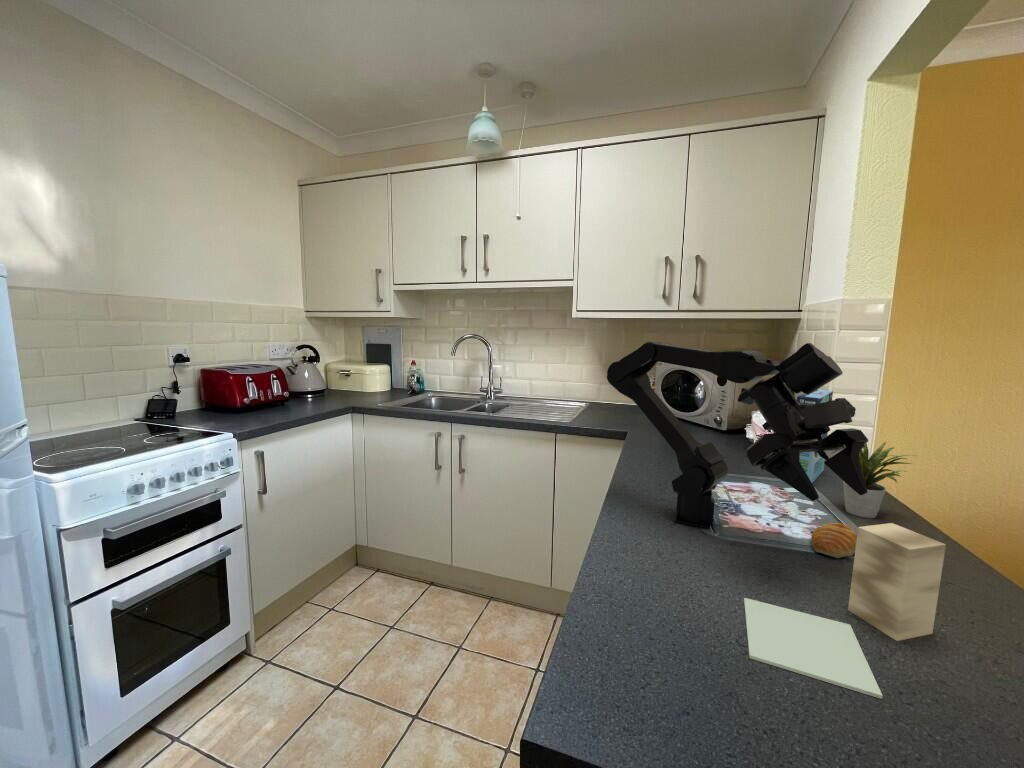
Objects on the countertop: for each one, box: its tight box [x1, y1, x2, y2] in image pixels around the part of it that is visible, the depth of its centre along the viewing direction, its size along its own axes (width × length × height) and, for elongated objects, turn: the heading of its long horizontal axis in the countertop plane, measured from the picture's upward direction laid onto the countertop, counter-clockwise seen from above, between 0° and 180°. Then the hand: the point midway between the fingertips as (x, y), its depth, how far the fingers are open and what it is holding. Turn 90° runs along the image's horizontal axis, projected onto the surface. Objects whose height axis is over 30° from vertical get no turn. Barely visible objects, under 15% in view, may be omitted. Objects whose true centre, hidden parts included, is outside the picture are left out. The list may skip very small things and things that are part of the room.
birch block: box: [847, 522, 947, 642], centre depth 55 cm, size 6×6×12 cm
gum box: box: [796, 389, 834, 484], centre depth 112 cm, size 20×5×23 cm, turn 134°
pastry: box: [810, 522, 857, 559], centre depth 74 cm, size 9×7×4 cm
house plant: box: [842, 441, 920, 519], centre depth 88 cm, size 14×14×16 cm
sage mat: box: [743, 597, 883, 700], centre depth 51 cm, size 12×12×1 cm
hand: (840, 496), depth 62 cm, fingers open, 9 cm apart
